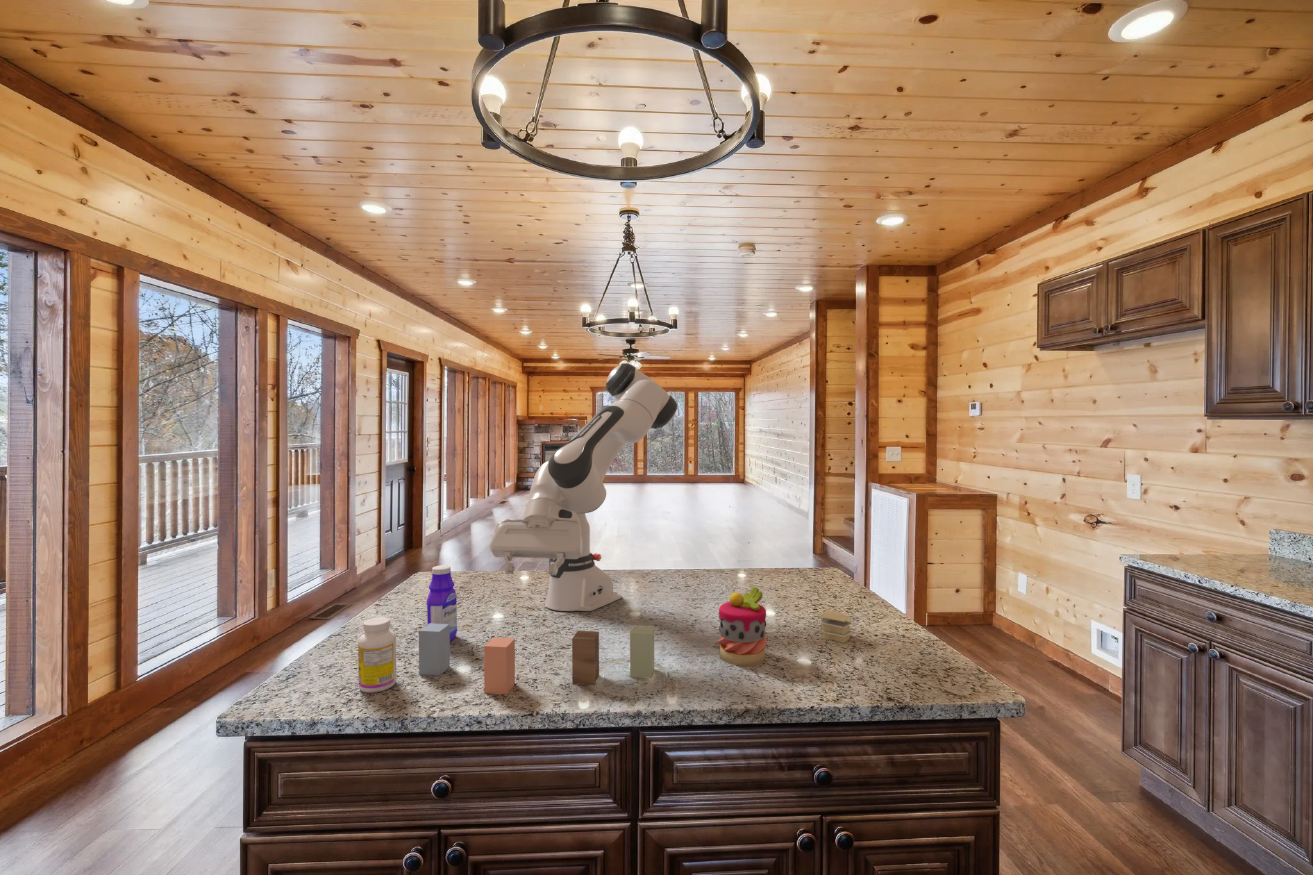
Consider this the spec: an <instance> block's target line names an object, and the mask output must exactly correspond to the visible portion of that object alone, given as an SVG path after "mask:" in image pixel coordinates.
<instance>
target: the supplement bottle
mask: <svg viewBox="0 0 1313 875" xmlns="http://www.w3.org/2000/svg"><path fill="white" fill-rule="evenodd" d="M390 627H391V619H390V618H389V617H385V616H380V617H379V616H378V617H373V618H368V619H366V620H364V622H363V627H362V628H363V630H364V633H363V634H362V635H361V636H360V637H359V638H358V640H357V648H358V649H357V650H358V651H357V653H358V656H357V658H358V659H357V662H358V688H359V690H360V691H361V692H363V693H371V694H373V693H379V692H382V691H383V692H384V691H386V690H388V689H390V688H392V687H393V686H394V685H395V684H396V682H397V637H396V636H397V635H396V633H395V632H394V631H393V630H391V629H390Z"/></svg>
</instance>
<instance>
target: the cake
mask: <svg viewBox="0 0 1313 875" xmlns="http://www.w3.org/2000/svg"><path fill="white" fill-rule="evenodd" d="M762 598H763V592H762V591H760V590H759V588H758V587H756V586H753V587H752V588H751V590H750V591H749V593H748V592H744V594H743V595H742V594H741V593H740V592H733V593H731V594H730V596H729V601H727V602H724V603H722V604H721V605H720V606H719V608H718V618H719V627H718V628H719V635H720V638H719V640H718V641H717V643H718V644H719V658H720V659H721V660H722V661H723V662H724V663H726V664H730V665H733V666H738V667H753V666H758V665H760V664H762V663H763V662H765V659H766V647H767V643H768V642H767V637H766V627H767V621H766V618H767V610H766V607H764V605H761V604H760V603H759V602H760V601H761V600H762Z"/></svg>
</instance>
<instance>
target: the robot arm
mask: <svg viewBox="0 0 1313 875" xmlns="http://www.w3.org/2000/svg"><path fill="white" fill-rule="evenodd" d="M605 389H606V390H607V392H608V393H609V394H610V396H612V397H614V398H615V399H616V400H615V401H614V402H612V403H611V404H610V405H608V406H605V407H604V408H602V409H601V410H599V412H597V413H596V414H595V415H594V416H593V417H592V418H591V419H589V421H588V422H587V423H586V424H585V425H584V426H583V427H582V428H581V429H580V430H579V431H578V432H577V433H576V434H575V435H574V436H573V437H572V438H571V439H570V440H568V441H567V442H565V443H564V444H563V445H561V446H560V447H559V448H557V449H556V450H555V451H554V452H553V453H552V455H551V457H550V459H549V460H548V461H545V462H544V463H542V464H541V465H540V467H539V468H538V469H537V470H536V473H535V475H534V478H533V479H532V482H531V487H530V489H529V500H528V501H527V503H526V505H525V510H524V514H523V517H522V519H510V518H509V519H508V518H507V519H504V520H502V521H500V522H498V523H497V524H496V527H495V528H494V529H495V530H494V534H493V536H492V539H491V541H490V543H489V550H490V552H491V554H492V555H493V556H494V557H495V558H503V559H504V561H505V563H506V564H505V568H504V572H505V574H506V575H514V573H515V569H516V568H515V565H514V563H511V562H512V561H513V559H518V558H520V559H548V571H547V572H548V575H549V584H548V589H547V594H546V598H545V602H544V605H545V607H546V608H547V609H550V610H554V611H561V612H574V611H575V612H576V611H578V612H579V611H580V612H581V611H582V612H593V611H595V610H597V609H598V608H601V607H604V606H607V605H608V604H611V603H614V602H615V601H616V602H617V601H618V600H620V599H622V594H621V593H620V592H619V591H617V590H615V589H614V583H613V580H612V577H611V576H610V575H609V574H608V573H607V572H605V571H604V570H602V569H601V568H600V567H598V566H597V565H596V563H595V561H596V562H600V561H601V559H602V555H601V553H597V552H595V553H594V554H593V553H592V552H591V536H590V535H591V527H590V524H589V521H588V519H587V516H586V514H589V513H592V512H593V513H594V511H597V510H598V509H599V508H600V507H601V506H602V504H604V502H605V500H606V497H607V488H605V484H604V479H605V477H606V475H607V472H608V470H609V469H610V466H611V465H612V463H613V462H614V461H615V459H616V458H617V456H618V455H619V453H620V452H621V451H622V449H623V448H624V446H625V445H626V444H629V445H630V444H635V443H638V442H640V441H641V440H642V439H644V438H645V436H647V434H648V433H649V431H650V430H651V429H654V430H655V429H656V430H657V429H662V428H663V427H665V426H666V425H668V424H670V422H671V421H672V420H673V418H675V415H676V412H677V410H678V404H677V401H676V400H675V399H674V397H673V396H672V395H669V394H668V393H667V391H666V390H665V389H664V388H663V387H662V386H661V385H659V383H657V382H656V381H655V380H653V379H651V377H649V376H647V375H646V374H645V373H643V372H641V371H640V370H638V369H637V368H636V366H635V365H632V364H630V363H628V362H624V363H621V364H619V365H617V366H615V367H613V369H612V370H611V371H610V372H609V374H608V376H607V379H606V383H605Z"/></svg>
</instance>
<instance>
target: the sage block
mask: <svg viewBox="0 0 1313 875" xmlns="http://www.w3.org/2000/svg"><path fill="white" fill-rule="evenodd" d="M629 641H630V642H629V645H630V646H629V657H630V658H629V667H630V668H629V676H630V677H629V678H639V679H641V678H642V679H644V678H645V679H652V678H653V676H654V675H653V674H654V673H655V626H653V625H633V626H632V628H631V631H630V632H629Z"/></svg>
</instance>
